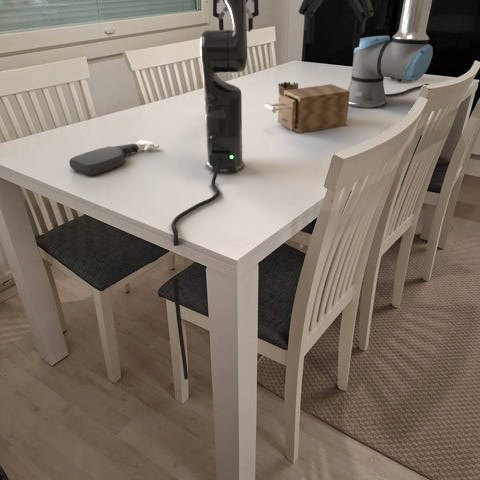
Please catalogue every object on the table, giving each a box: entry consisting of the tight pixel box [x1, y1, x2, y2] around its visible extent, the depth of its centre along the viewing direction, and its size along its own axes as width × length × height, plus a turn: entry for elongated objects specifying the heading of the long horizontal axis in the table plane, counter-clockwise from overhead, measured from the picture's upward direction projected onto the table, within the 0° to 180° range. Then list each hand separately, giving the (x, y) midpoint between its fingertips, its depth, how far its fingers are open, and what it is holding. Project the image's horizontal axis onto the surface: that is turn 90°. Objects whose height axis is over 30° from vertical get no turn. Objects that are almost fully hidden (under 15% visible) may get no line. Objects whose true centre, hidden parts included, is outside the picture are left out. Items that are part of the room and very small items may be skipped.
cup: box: [277, 81, 300, 96], centre depth 166 cm, size 8×7×8 cm
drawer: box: [264, 94, 299, 131], centre depth 144 cm, size 23×9×9 cm, turn 113°
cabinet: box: [284, 83, 350, 134], centre depth 146 cm, size 18×11×11 cm, turn 113°
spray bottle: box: [68, 139, 160, 177], centre depth 124 cm, size 3×11×24 cm
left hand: (236, 31), depth 142 cm, fingers open, 8 cm apart
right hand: (332, 45), depth 119 cm, fingers open, 13 cm apart
